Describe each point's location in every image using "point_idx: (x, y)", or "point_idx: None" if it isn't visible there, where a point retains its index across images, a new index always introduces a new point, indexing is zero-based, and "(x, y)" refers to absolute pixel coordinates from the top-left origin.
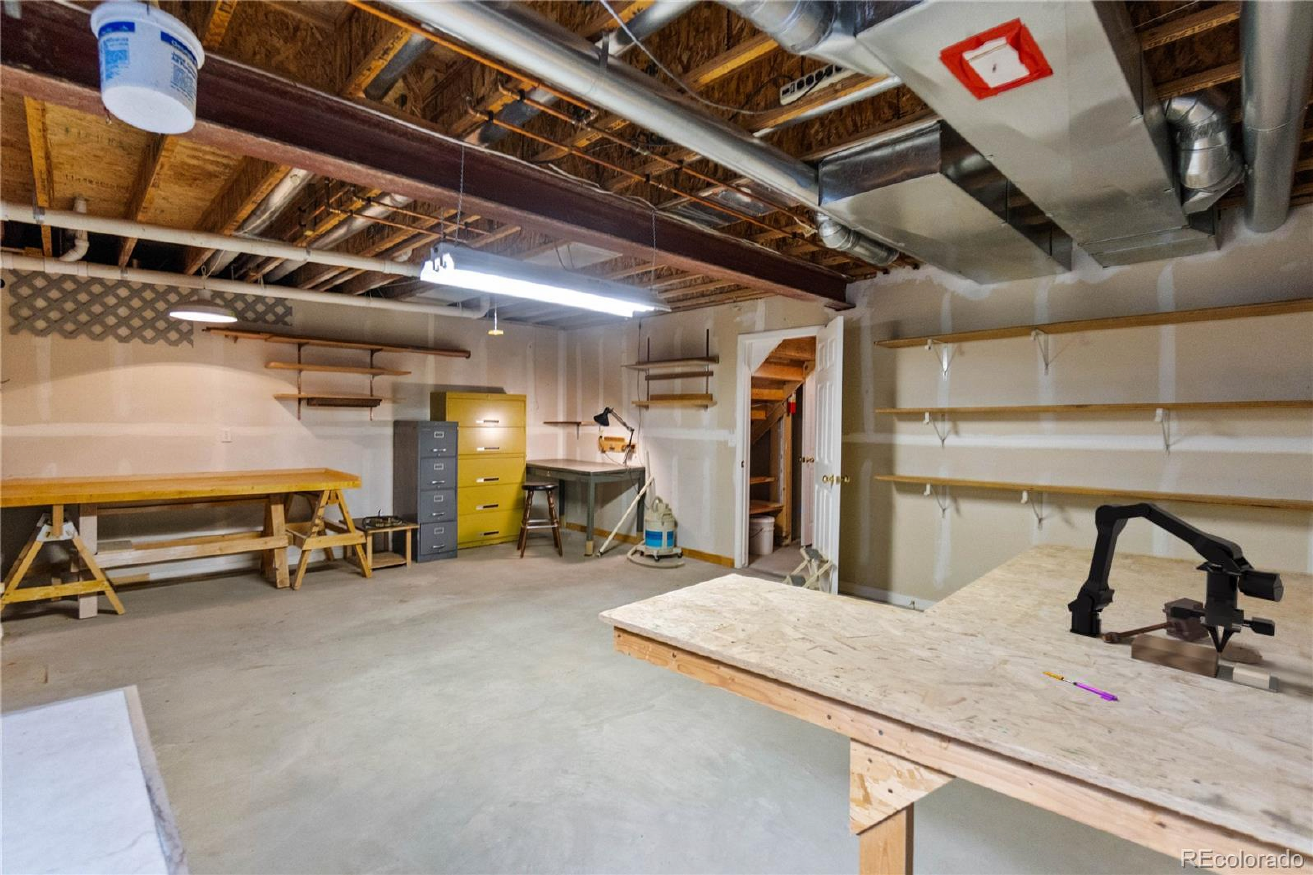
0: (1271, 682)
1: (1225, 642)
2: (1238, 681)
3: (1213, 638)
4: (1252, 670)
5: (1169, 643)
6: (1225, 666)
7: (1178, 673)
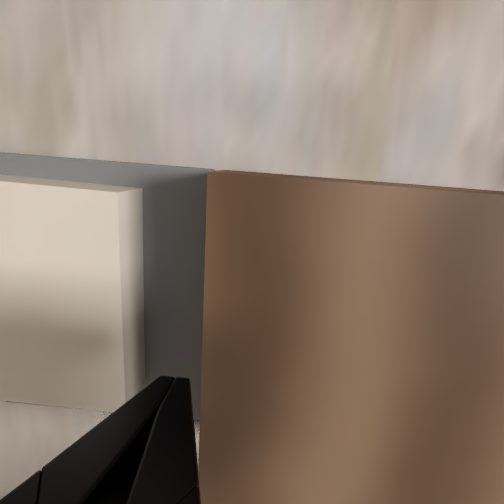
0: None
1: (64, 463)
2: (117, 186)
3: (182, 496)
4: (41, 321)
5: (482, 440)
6: None
7: (405, 90)
